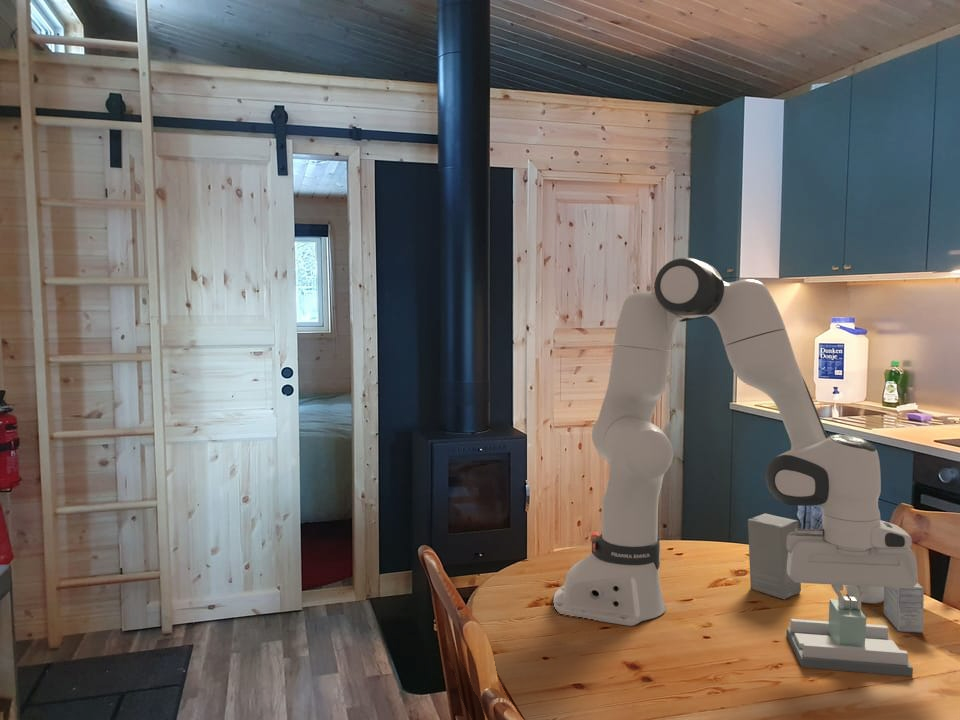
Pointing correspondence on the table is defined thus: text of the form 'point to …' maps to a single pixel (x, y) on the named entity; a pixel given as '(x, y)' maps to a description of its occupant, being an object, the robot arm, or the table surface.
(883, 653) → the rail board
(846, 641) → the rail module
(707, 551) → the table surface
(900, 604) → the medicine box
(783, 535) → the skincare box
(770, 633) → the table surface
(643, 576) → the robot arm
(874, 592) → the candle
